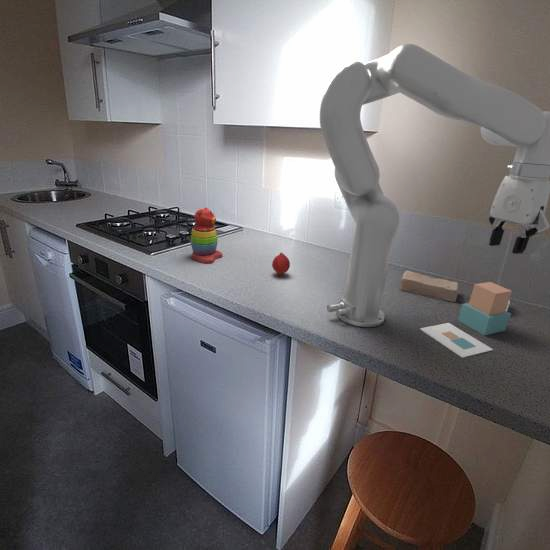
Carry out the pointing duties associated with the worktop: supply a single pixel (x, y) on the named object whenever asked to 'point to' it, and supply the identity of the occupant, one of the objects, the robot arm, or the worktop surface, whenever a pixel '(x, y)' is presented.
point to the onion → (281, 264)
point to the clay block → (489, 298)
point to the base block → (483, 320)
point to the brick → (429, 286)
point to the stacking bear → (204, 237)
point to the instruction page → (456, 340)
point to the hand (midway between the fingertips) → (505, 248)
